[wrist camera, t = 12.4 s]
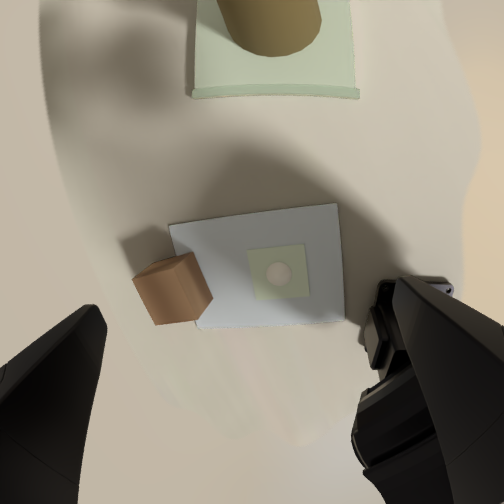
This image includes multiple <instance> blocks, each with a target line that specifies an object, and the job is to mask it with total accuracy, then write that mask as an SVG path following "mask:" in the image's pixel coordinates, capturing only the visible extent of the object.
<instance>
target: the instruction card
mask: <svg viewBox="0 0 504 504" xmlns="http://www.w3.org/2000/svg"><path fill="white" fill-rule="evenodd" d="M169 230H170V234H171V238H172V242H173V245H174V249H175V253H176V256H179V255H182V254H186V253H189V252H194V255H195V257H196V259H197V262H198V264H199V266H200V269H201V271H202V273H203V276H204V278H205V280H206V283H207V285H208V287H209V289H210V292H211V294H212V296H213V298H214V299H213V300H212V301H211V303H210V304H209V305H208V307H207V308H206V309H205V311H204V312H203V313H202V315H201V316H200V317H199V319H198V320H195V321H196V324H197V327H198V329H203V328H245V327H268V326H285V325H300V324H313V323H325V322H336V321H345V311H344V285H343V266H342V251H341V238H340V227H339V216H338V207H337V203H331V204H322V205H313V206H304V207H296V208H287V209H279V210H271V211H264V212H256V213H249V214H241V215H234V216H227V217H220V218H213V219H206V220H200V221H193V222H187V223H180V224H174V225H169Z"/></svg>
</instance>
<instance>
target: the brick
mask: <svg viewBox="0 0 504 504" xmlns="http://www.w3.org/2000/svg"><path fill="white" fill-rule="evenodd" d="M132 281H133V283H134V285H135V287H136V289H137V291H138V293H139V295H140V297H141V299H142V301H143V303H144V305H145V307H146V309H147V311H148V312H149V314H150V316H151V318H152V320H153V322H154V324H155V325H163V324H171V323H178V322H186V321H193V320H198V319H199V317H200V316H201V315H202V313H203V312H204V311H205V309H206V308H207V307H208V305H209V304H210V303H211V301H212V300H213V299H214V298H213V296H212V294H211V292H210V289H209V287H208V285H207V283H206V280H205V278H204V276H203V273H202V271H201V269H200V266H199V264H198V262H197V259H196V257H195V255H194V252H189V253H186V254H182V255H179V256H175V257H172V258H168V259H165V260H162V261H158V262H155V263H152V264H151V265H150V266H148V267H147V268H146V269H145V270H143V271H142V272H141V273H139V274H138V275H137V276H135V277H134V278H133V279H132Z"/></svg>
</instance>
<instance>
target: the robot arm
mask: <svg viewBox="0 0 504 504" xmlns="http://www.w3.org/2000/svg"><path fill="white" fill-rule="evenodd" d="M385 285H387V288H386V289H382V288H383V286H385ZM448 288H449V290H448V291H446V290H447V289H448ZM453 292H454V287H453V286H452V284H451V283H448V282H423V281H421V280H419V279H417V278H415V277H413V276H411V275H406V276H400V277H398V278H397V280H382V281H381V282H380V283H379V284H378V288H377V293H376V298H375V302H374V306H372V307H371V308H370V309H369V313H368V317H367V322H366V326H365V330H364V339H365V344H364V348H365V351H366V352H367V353H368V358H369V363H370V367H371V368H372V370H378V374H379V379H380V382H379V383H377V384H376V385H375V386H373V387H372V388H368V389H366V390H365V391H363V392H362V393H361V398H360V402H359V404H358V408H357V414H356V417H355V421H354V424H353V428H352V433H351V442H352V446H353V449H354V452H355V455H356V457H357V458H358V460H359V462H360V463H361V464H362V466H363V467H365V469H364V470H363V475H364V476H365V477H366V478H367V479H368V480H369V481H370V482H372V483H373V484H374V485H375V487H376V488H377V489H378V491H379V492H380V493H381V495H382V497H383V499H384V501H385V503H386V504H504V326H503V325H502V326H501V325H500V324H499V323H497V322H495V321H494V320H492V319H491V318H488V317H487V316H485V315H483V314H482V313H480V312H478V311H477V310H475V309H473V308H471V307H469V306H468V305H466V304H464V303H462V302H460V301H459V300H457V299H455V298H453V297H452V295H453ZM106 336H107V324H106V322H105V320H104V318H103V316H102V314H101V312H100V310H99V308H98V306H96V305H94V304H87V305H83V306H82V307H81V308H79V309H78V310H77V311H75V312H74V313H72V314H71V315H69V316H68V317H67V318H65V319H64V320H62V321H61V322H60V323H58V324H57V325H56V326H54V327H53V328H52V329H50V330H49V331H48V332H46V333H45V334H44V335H42V336H41V337H40V338H38V339H37V340H36V341H34V342H33V343H32V344H30V345H29V346H28V347H26V348H25V349H24V350H23V351H21V352H20V353H19V354H17V355H16V356H15V357H14V358H12V359H11V360H10V361H8V363H7V364H5V365H3V366H2V367H1V368H0V504H77V503H78V492H79V481H80V474H81V466H82V459H83V453H84V446H85V441H86V435H87V430H88V425H89V420H90V415H91V410H92V405H93V401H94V396H95V392H96V388H97V384H98V380H99V376H100V371H101V365H102V359H103V353H104V347H105V341H106Z"/></svg>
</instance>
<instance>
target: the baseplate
mask: <svg viewBox="0 0 504 504" xmlns="http://www.w3.org/2000/svg"><path fill="white" fill-rule="evenodd" d="M317 1H318V5H319V9H320V13H321V18H322V22H321V27H320V32H319V33H318V35H317V36H316V38H315V39H314V41H313V42H312V43H311V44H309V45H308V46H307V47H305V48H304V49H303V50H301V51H299V52H296V53H293V54H291V55H288V56H280V57H266V56H259V55H255V54H253V53H251V52H248V51H246V50H244V49H242V48H241V47H240V46H239V45H238V44H237V43H235V42H234V41H233V39H232V37H231V35H230V33H229V32H228V30H227V27H226V24H225V22H224V19H223V16H222V14H221V11H220V9H219V6H218V3H217V1H216V0H197V14H196V37H195V85H194V90H192V98H193V99H206V98H218V97H233V96H259V95H293V96H319V97H334V98H346V99H356V100H358V99H359V98H360V90H359V89H355V88H356V87H355V61H354V44H353V31H352V20H351V11H350V2H349V0H317Z"/></svg>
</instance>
